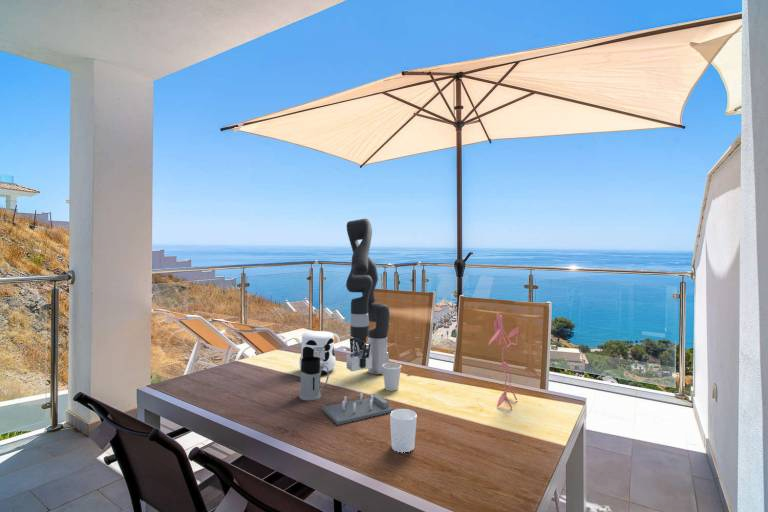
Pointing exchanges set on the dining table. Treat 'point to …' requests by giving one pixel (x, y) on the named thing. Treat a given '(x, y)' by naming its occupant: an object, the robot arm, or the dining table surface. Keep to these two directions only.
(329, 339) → the milk container
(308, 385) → the white and black mug
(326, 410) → the grey tapered peg board
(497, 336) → the figurine
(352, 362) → the block
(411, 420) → the white cup
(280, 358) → the dining table surface
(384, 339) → the robot arm
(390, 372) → the dixie cup
